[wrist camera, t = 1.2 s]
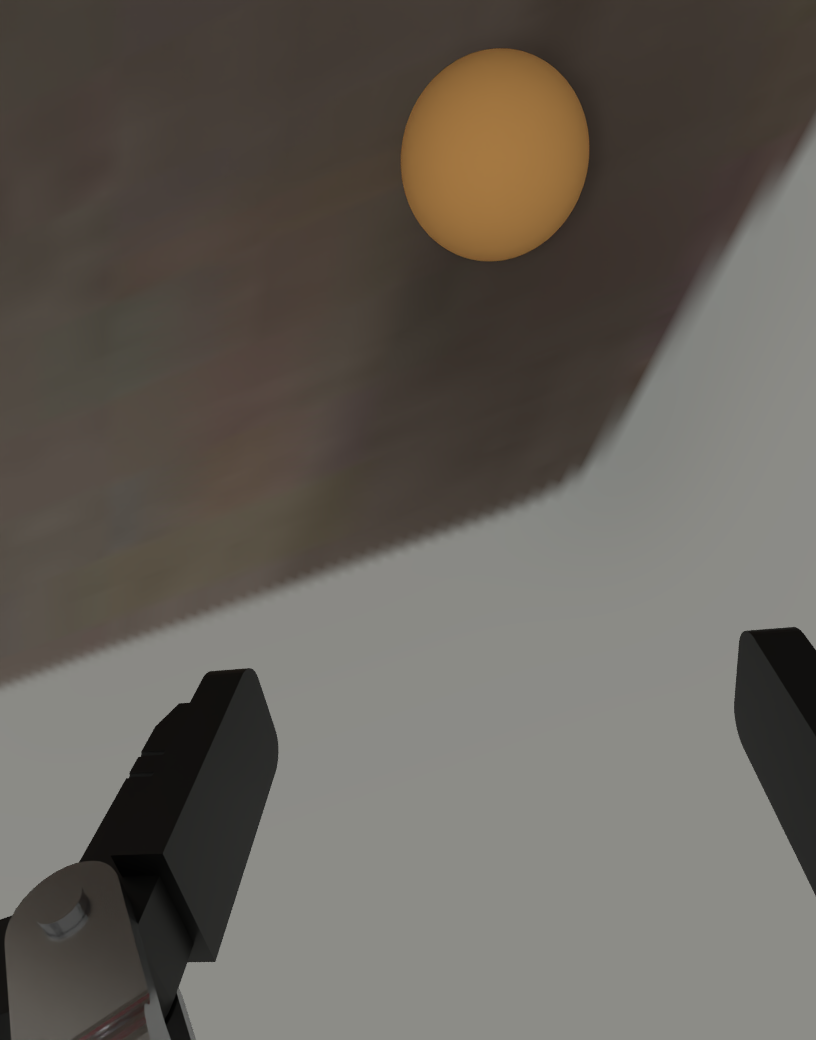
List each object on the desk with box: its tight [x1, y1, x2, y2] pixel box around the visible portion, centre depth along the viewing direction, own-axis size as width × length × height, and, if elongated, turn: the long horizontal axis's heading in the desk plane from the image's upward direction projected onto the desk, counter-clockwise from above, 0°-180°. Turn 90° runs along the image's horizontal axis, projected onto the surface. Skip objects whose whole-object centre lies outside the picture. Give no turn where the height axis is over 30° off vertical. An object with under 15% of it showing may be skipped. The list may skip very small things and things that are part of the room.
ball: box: [401, 48, 589, 261], centre depth 21 cm, size 6×6×6 cm
